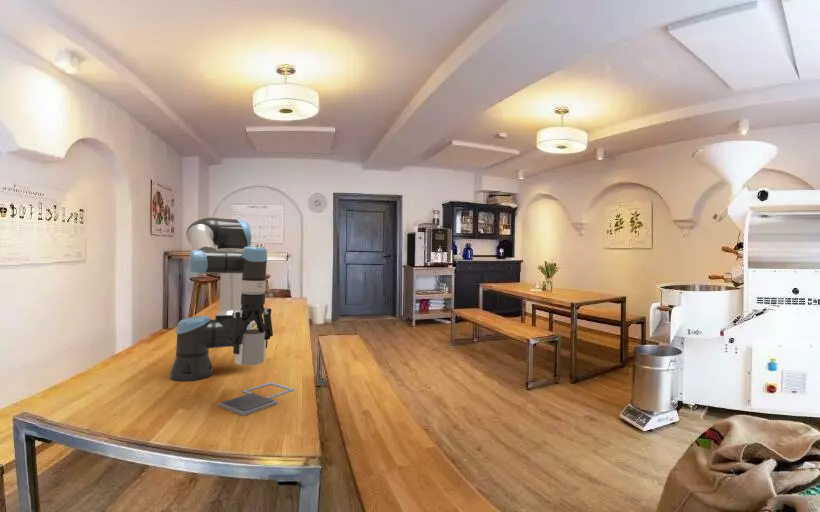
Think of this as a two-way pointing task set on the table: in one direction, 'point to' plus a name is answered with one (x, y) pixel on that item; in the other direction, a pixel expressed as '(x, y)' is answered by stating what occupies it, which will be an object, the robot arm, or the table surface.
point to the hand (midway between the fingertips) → (250, 360)
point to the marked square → (271, 384)
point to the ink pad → (247, 404)
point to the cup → (253, 347)
